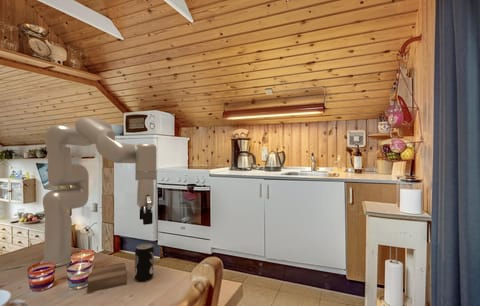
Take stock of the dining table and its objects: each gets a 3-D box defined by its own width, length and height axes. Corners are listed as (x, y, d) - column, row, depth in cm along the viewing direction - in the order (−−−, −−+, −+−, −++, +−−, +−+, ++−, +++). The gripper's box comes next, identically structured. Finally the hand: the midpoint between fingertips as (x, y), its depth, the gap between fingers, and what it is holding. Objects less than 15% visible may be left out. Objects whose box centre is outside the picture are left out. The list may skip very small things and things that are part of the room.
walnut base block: (89, 278, 92) (89, 268, 92) (124, 271, 98) (124, 262, 98) (87, 292, 81) (87, 282, 81) (126, 284, 87) (127, 274, 87)
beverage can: (146, 283, 88) (147, 249, 88) (130, 281, 89) (131, 248, 90) (156, 275, 94) (157, 243, 95) (141, 273, 96) (141, 242, 96)
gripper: (133, 175, 99) (132, 218, 98) (138, 177, 84) (137, 227, 83) (152, 175, 103) (152, 216, 102) (160, 176, 88) (160, 225, 87)
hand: (145, 221), depth 93 cm, fingers open, 9 cm apart
